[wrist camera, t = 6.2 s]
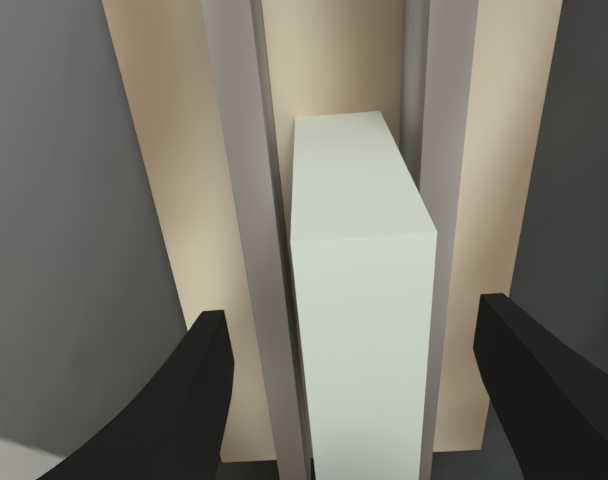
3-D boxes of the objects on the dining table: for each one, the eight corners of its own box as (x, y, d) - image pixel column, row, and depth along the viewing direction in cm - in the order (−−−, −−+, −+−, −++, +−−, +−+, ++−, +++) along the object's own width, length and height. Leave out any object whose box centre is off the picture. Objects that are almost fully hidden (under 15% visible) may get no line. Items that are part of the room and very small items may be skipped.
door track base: (571, -155, 12) (680, -195, 8) (474, 430, 23) (503, 514, 20) (87, -111, 12) (5, -132, 9) (225, 443, 24) (212, 527, 20)
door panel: (379, 110, 14) (437, 231, 8) (379, 359, 19) (413, 543, 13) (294, 117, 14) (289, 241, 8) (316, 362, 20) (323, 547, 14)
